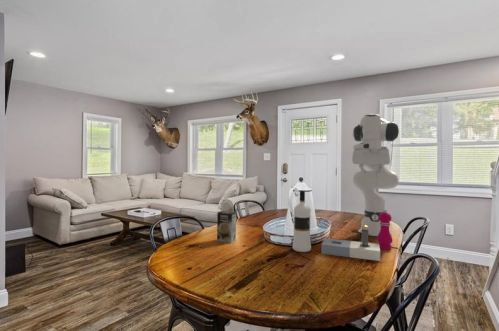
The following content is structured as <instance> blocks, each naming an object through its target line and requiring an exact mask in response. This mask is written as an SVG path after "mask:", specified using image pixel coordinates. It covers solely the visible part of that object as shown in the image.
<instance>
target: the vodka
mask: <svg viewBox="0 0 499 331" xmlns="http://www.w3.org/2000/svg"><path fill="white" fill-rule="evenodd" d="M305 192H306V191H305V190H299V204H296V205H295V206H294V208H293V217H294V218H293V243H292V249H293V250H294V251H295V252H299V253H308V252H310V251H311V250H312V245H311V207H310V206H309V205H308V204H306V200H305V199H306V193H305Z"/></svg>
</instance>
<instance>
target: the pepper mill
mask: <svg viewBox="0 0 499 331" xmlns="http://www.w3.org/2000/svg"><path fill="white" fill-rule="evenodd" d="M383 212H384V213H381V214H380V215H379V220H380V225H381V229H380V232H379V234H378V236H376V241H377V242H378V244H379V246H380V250H385V251H391V249H392V245H391V244H392V243H393V237H392V233H391V231H390V226H391V221H392V215H391V214H390V213H388V211H387V209H385V210H383ZM390 233H391V234H390Z"/></svg>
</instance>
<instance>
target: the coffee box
mask: <svg viewBox="0 0 499 331" xmlns="http://www.w3.org/2000/svg"><path fill="white" fill-rule="evenodd" d="M216 214H217V219H216V220H217V223H216V224H217V225H216V229H217V230H216V231H217V233H216V234H217V235H216V238H217V239H216V241H217V242H219V243H226V244H228V243H229V244H232V243H234V242H235V241H237V212H235V211H225V210H221V211H218V212H217V213H216Z"/></svg>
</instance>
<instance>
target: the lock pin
mask: <svg viewBox="0 0 499 331" xmlns="http://www.w3.org/2000/svg"><path fill="white" fill-rule="evenodd" d="M361 225H362V224H361ZM360 229H362V233H361V242H362V243H361V247H368V243H369V235H368V230H369V226H366V225H362V226H361V227H360Z"/></svg>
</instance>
